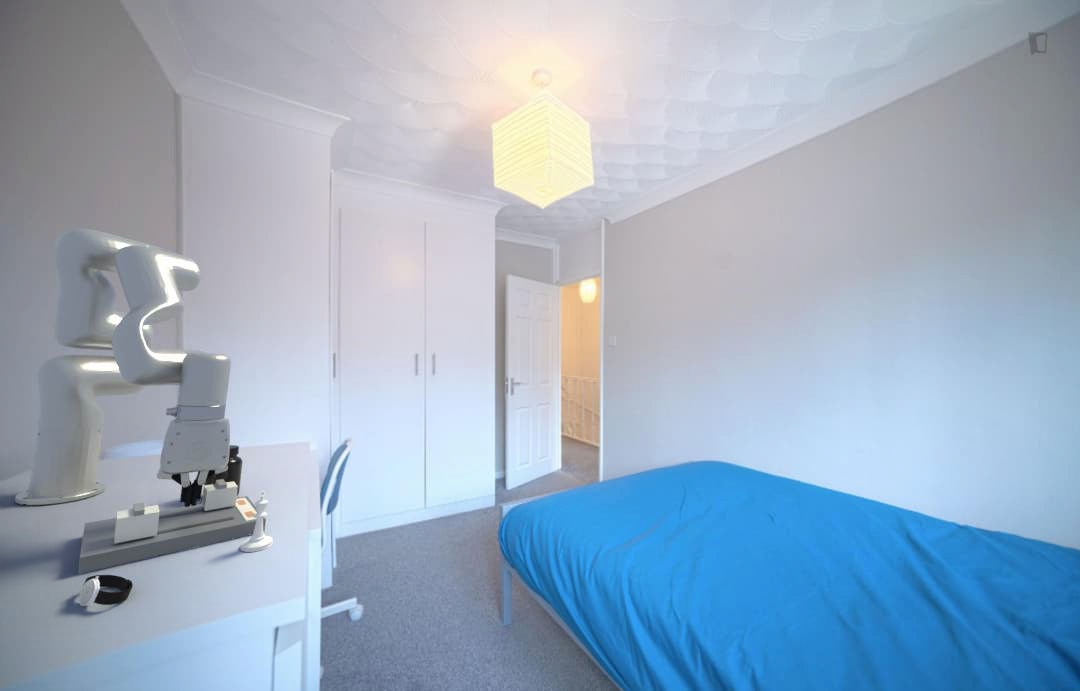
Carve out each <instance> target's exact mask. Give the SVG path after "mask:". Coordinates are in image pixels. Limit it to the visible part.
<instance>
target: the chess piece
mask: <svg viewBox="0 0 1080 691" xmlns="http://www.w3.org/2000/svg"><path fill="white" fill-rule="evenodd" d="M265 494H266V492H265V490H261V493H260V497H259V499H260V500H256V501H255V503H254V505H255V506H256V510H257V513H256V514H254V516H253V517H254V518H257V520H256V524H255V528H254V532H253V535H250V536H249V538H247V539H245V540H244V541H242V542H241V545H240V547H239V550H240V551H242V552H244V553H254V552H261V551H264V550H267V549H268V548H270V547H271V546H273V543H274V540H273V537H272V536H269V535H266V534H265V532H263V517H265V518H266V517H267V515H268V512H266V511H265V510H266V507H267V506H268V503H269V501H268V500H267V499H265Z"/></svg>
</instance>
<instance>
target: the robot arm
mask: <svg viewBox="0 0 1080 691" xmlns="http://www.w3.org/2000/svg"><path fill="white" fill-rule="evenodd" d="M53 248H54V249H53V261H54V267H55V270H56V273H57V277H58V283H59V290H58V297H57V304H56V312H55V323H54V338H55V340H56V342H57V343H58V344H60V346H63V347H65V348H71V349H78V350H79V349H80V350H97V351H98V350H99V351H112V353H113V355H112V356H111V355H95V354H94V355H91V354H66V355H59V356H54V357H51V358H49V359H47V360H45V361H43V362H42V363H41V364H40V366H39V367H38V370H37V375H36V381H37V387H38V396H39V411H38V418H37V428H36V436H35V444H34V450H33V456H32V463H31V470H30V476H29V477H30V478H29V484H28V490H27V489H26V490H25V491H22V492H19V493H18V494H16V496H15V497H14V498H15V499H14V502H15V503H16V504H18V505H23V504H26V505H25V506H38V505H39V506H44V505H56V504H61V503H69V502H73V501H74V502H75V501H79V500H83V499H86V498H87V499H88V498H91V497H94V496H97V495H98V494H101V493H103V491H105V489H106V484H105V483H103V482H101V481H99V482H98V481H97V475H98V467H99V460H100V453H101V445H102V438H103V432H104V431H103V430H104V424H105V413H104V412H103V410H102V408H101V407H100V405H98V403H96V401H95V400H94V398H93V397H101V396H103V397H105V396H106V397H107V396H123V395H134V394H137V393H139V392H141V391H143V390H144V389H145V388H146V387H148V386H149V387H154V386H155V387H156V386H157V387H158V386H179V389H178V395H177V403H176V405H175V406H174V407H168V408H166V412H165V416H172V417H173V418H175V419H172V420H170V421H169V425H168V427H167V430H166V433H165V437H164V439H163V445H162V448H161V456H160V467H159V469H158V472H157V474H156V478H157V479H158V480H173V481H174V482H175V483H177V484H179V485H180V486H181V489H180V490H181V491H180V497H179V501H180V503H183V504H184V507H189V506H196V505H197V502H198V500H202V494H203V486H204V483H205V482H206V481H207V480H208V479H209V478H210V477H212V476H213V475H214V474H218V473H221V472H224V471H227V470H228V466H227V464H228V461H229V451H230V445H231V426H230V425H231V424H230V419H228V418H226V417H225V416H226V406H227V400H228V399H227V398H228V391H229V383H230V373H231V365H232V364H231V363H232V361H231V358H230V356H228V355H226V354H223V353H214V352H205V351H200V350H194V349H179V348H161V347H154V342H155V340H154V338H155V335H154V334H155V332H154V328H153V326H152V325H155V324H158V323H163V322H167V321H170V320H172V319H175V318H176V317H179V316H180V315H181V314H182V313H183V312H184V310H185V303H184V300H183V297H182V294H181V293H180V291H181V292H191V291H193V290H194V289H196V288H198V286H199V284H200V282H201V278H202V273H201V269H200V267H199V264H198V263H196V262H195V261H194V260H193V259H192V258H191V257H189V256H186V255H182V254H180V253H177V252H174V251H173V250H169V249H165V248H163V247H160V246H156V245H153V244H150V243H146V242H142V241H138V240H135V239H130V238H128V237H127V238H126V237H125V236H124V237H123V236H121V235H116V234H112V233H108V232H104V231H100V230H96V229H88V228H72V229H71V228H70V229H67V230H66V231H64V232H63V233H62V234H61V235H60V236H59V237H58V239H57V240H56V242H55V244H54V247H53ZM102 271H105V272H106V271H107V272H111V273H116V274H117V275H118V278H119V282H120V285H121V288H122V289H123V293H124V295H125V298H126V302H127V305H128V307H129V312H125V311H117V310H116V300H117V290H116V288H115V287H114V285H113V284H112V282H111V281H110V279H109V278H108V277H107V276H106V274H104V273H103V272H102ZM196 472H197V474H196V476H195V479H194V480H193V482H191V480H190V473H196Z"/></svg>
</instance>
